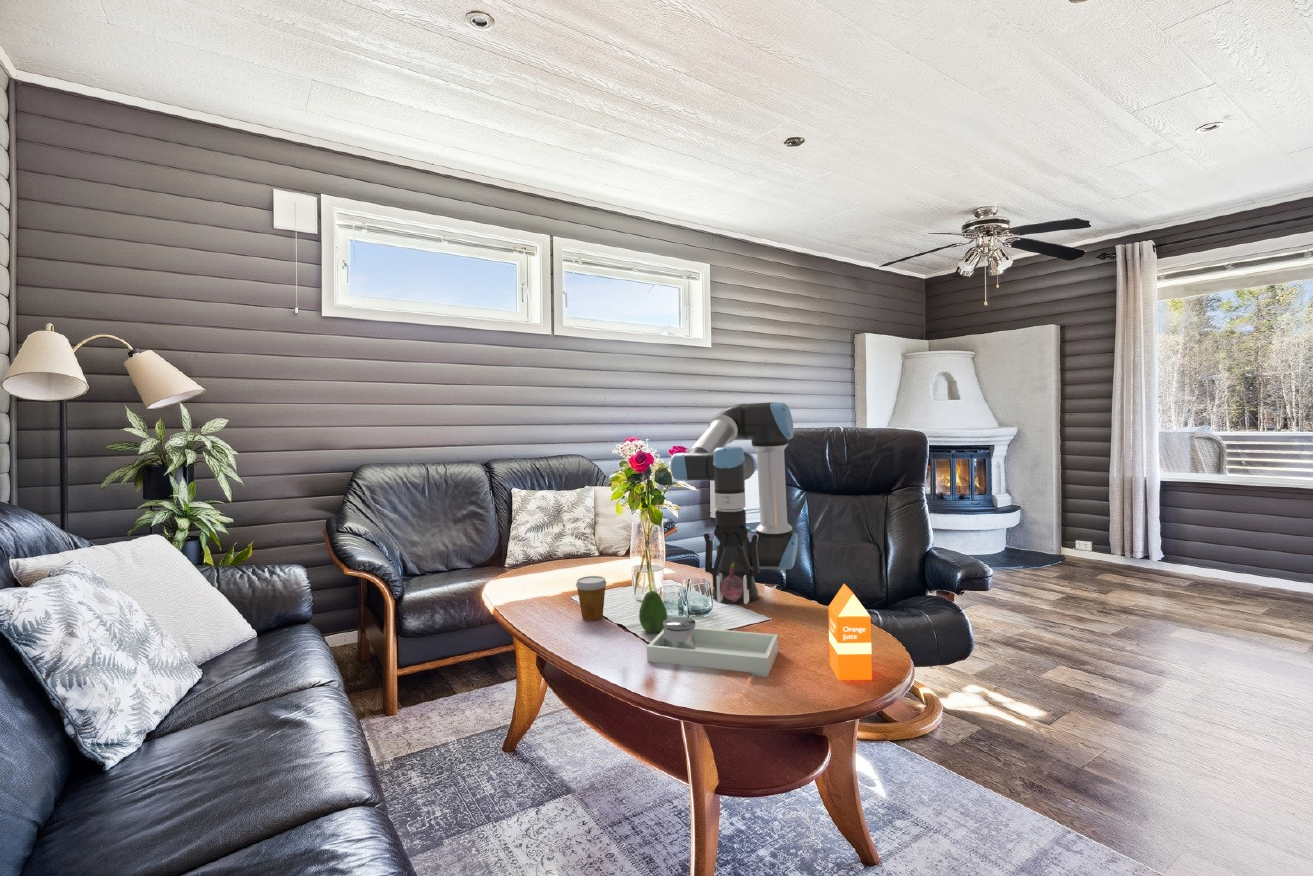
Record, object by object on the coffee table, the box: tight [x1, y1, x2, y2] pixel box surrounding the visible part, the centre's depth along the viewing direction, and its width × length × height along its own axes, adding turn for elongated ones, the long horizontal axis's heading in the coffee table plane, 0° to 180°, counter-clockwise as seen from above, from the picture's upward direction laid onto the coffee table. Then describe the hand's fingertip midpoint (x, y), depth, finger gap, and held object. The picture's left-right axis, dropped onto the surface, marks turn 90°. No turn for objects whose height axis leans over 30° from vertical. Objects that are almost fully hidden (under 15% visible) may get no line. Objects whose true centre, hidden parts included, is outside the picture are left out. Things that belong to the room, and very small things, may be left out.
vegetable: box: [720, 563, 744, 602], centre depth 155 cm, size 6×6×10 cm
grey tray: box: [646, 627, 780, 678], centre depth 157 cm, size 16×30×4 cm, turn 70°
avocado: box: [638, 590, 668, 634], centre depth 176 cm, size 8×8×12 cm
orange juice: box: [828, 583, 873, 681], centre depth 146 cm, size 8×9×20 cm
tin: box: [663, 616, 696, 649], centre depth 160 cm, size 8×8×8 cm
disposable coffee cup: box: [575, 575, 607, 622], centre depth 192 cm, size 10×10×12 cm
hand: (733, 601), depth 155 cm, fingers closed on vegetable, 6 cm apart
